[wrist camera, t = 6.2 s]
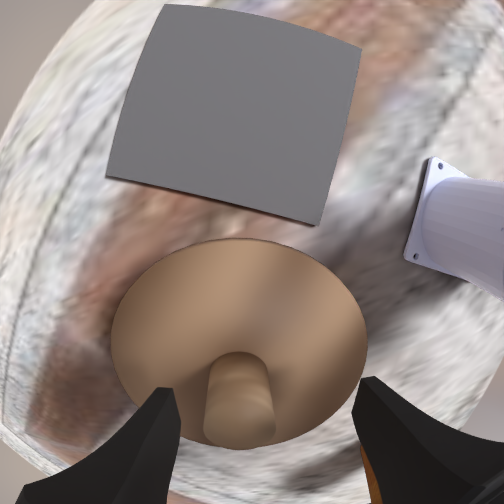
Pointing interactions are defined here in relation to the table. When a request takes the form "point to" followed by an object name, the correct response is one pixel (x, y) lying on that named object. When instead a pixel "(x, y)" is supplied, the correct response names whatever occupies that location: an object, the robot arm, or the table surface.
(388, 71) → the table surface
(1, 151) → the table surface
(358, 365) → the lid
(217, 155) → the mat
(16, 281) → the table surface
